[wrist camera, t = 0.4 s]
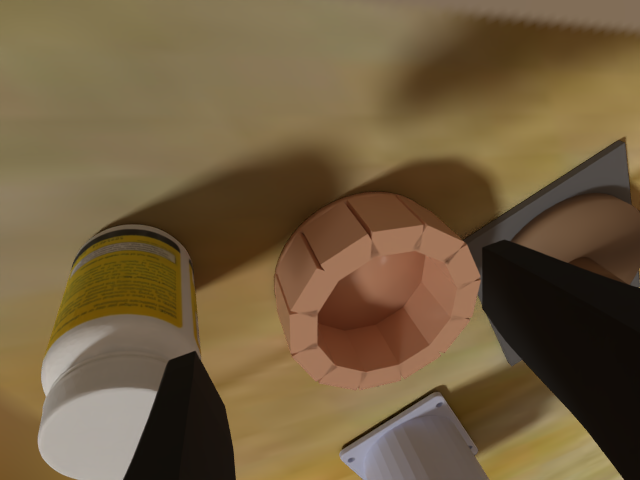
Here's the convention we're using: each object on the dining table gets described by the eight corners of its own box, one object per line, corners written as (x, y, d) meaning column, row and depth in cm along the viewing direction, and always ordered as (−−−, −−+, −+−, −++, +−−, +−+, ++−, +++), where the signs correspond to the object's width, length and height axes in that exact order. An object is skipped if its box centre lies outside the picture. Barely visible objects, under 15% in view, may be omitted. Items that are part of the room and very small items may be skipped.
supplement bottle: (47, 255, 18) (-30, 435, 11) (153, 201, 18) (144, 346, 11) (121, 329, 21) (97, 512, 14) (213, 283, 21) (235, 439, 14)
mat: (635, 282, 30) (640, 286, 30) (507, 362, 31) (511, 366, 30) (618, 140, 23) (624, 142, 23) (455, 245, 24) (459, 248, 23)
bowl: (461, 279, 25) (498, 319, 22) (327, 364, 26) (347, 414, 23) (402, 154, 20) (442, 185, 17) (236, 263, 21) (248, 311, 18)
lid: (638, 276, 29) (706, 320, 26) (507, 358, 30) (556, 413, 26) (626, 157, 24) (711, 192, 20) (464, 261, 24) (518, 314, 20)
